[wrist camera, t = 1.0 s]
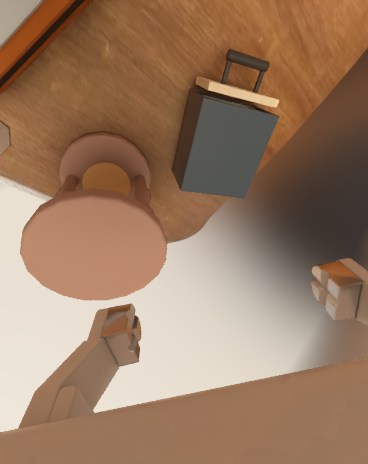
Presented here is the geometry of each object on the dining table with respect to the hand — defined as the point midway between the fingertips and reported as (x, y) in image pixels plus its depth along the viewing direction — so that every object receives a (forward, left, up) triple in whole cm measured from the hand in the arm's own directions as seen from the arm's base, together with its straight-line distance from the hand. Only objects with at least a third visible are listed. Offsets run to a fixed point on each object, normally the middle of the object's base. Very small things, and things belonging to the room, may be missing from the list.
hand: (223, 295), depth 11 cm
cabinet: (+3, +14, -43) cm, 45 cm away
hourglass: (+14, -6, -43) cm, 45 cm away
